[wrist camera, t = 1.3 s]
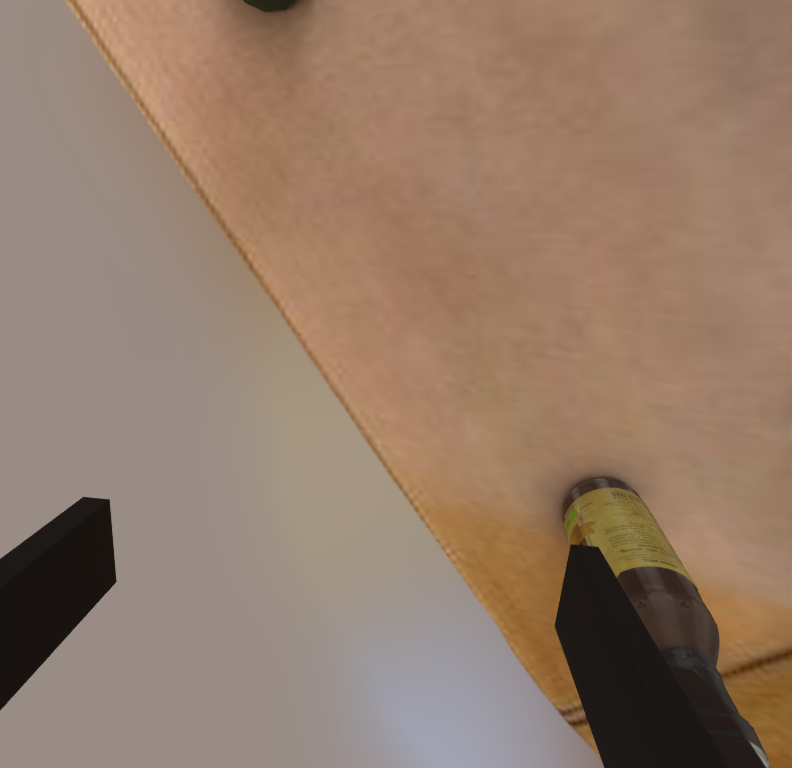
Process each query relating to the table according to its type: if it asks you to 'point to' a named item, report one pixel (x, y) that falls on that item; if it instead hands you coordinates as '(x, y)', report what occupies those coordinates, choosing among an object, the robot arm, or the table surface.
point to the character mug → (270, 4)
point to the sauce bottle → (651, 580)
